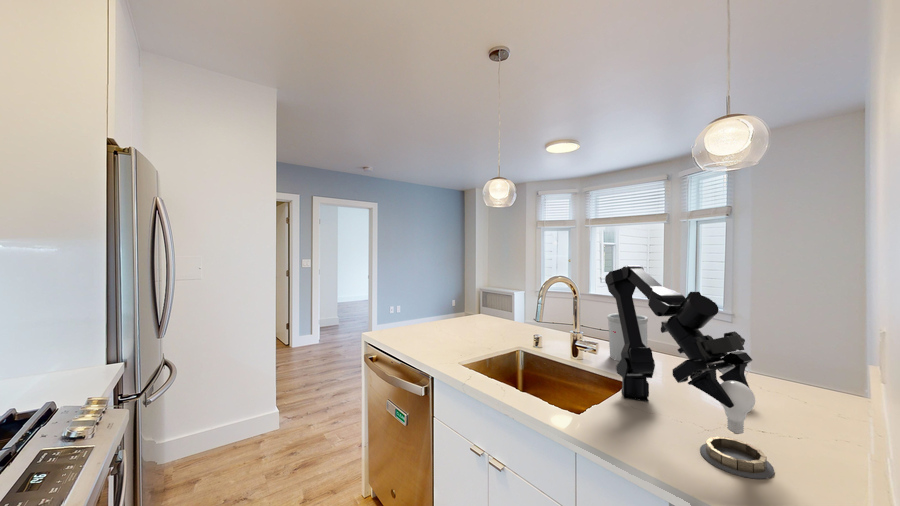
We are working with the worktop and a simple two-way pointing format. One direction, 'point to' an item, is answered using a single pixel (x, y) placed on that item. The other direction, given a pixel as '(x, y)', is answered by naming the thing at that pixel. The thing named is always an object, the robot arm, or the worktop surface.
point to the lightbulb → (737, 404)
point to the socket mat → (738, 455)
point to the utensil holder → (617, 338)
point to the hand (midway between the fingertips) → (742, 404)
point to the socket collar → (733, 463)
